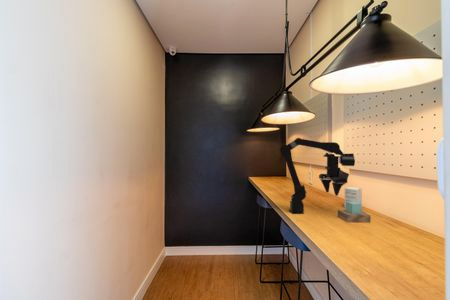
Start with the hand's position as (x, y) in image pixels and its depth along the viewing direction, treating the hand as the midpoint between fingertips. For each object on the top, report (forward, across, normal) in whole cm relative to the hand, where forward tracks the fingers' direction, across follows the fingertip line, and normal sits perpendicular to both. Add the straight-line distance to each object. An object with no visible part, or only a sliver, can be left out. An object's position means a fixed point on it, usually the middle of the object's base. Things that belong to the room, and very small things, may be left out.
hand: (331, 193), depth 122 cm
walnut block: (+12, -8, -7) cm, 16 cm away
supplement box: (+12, +13, -21) cm, 27 cm away
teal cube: (+8, -8, -7) cm, 13 cm away
